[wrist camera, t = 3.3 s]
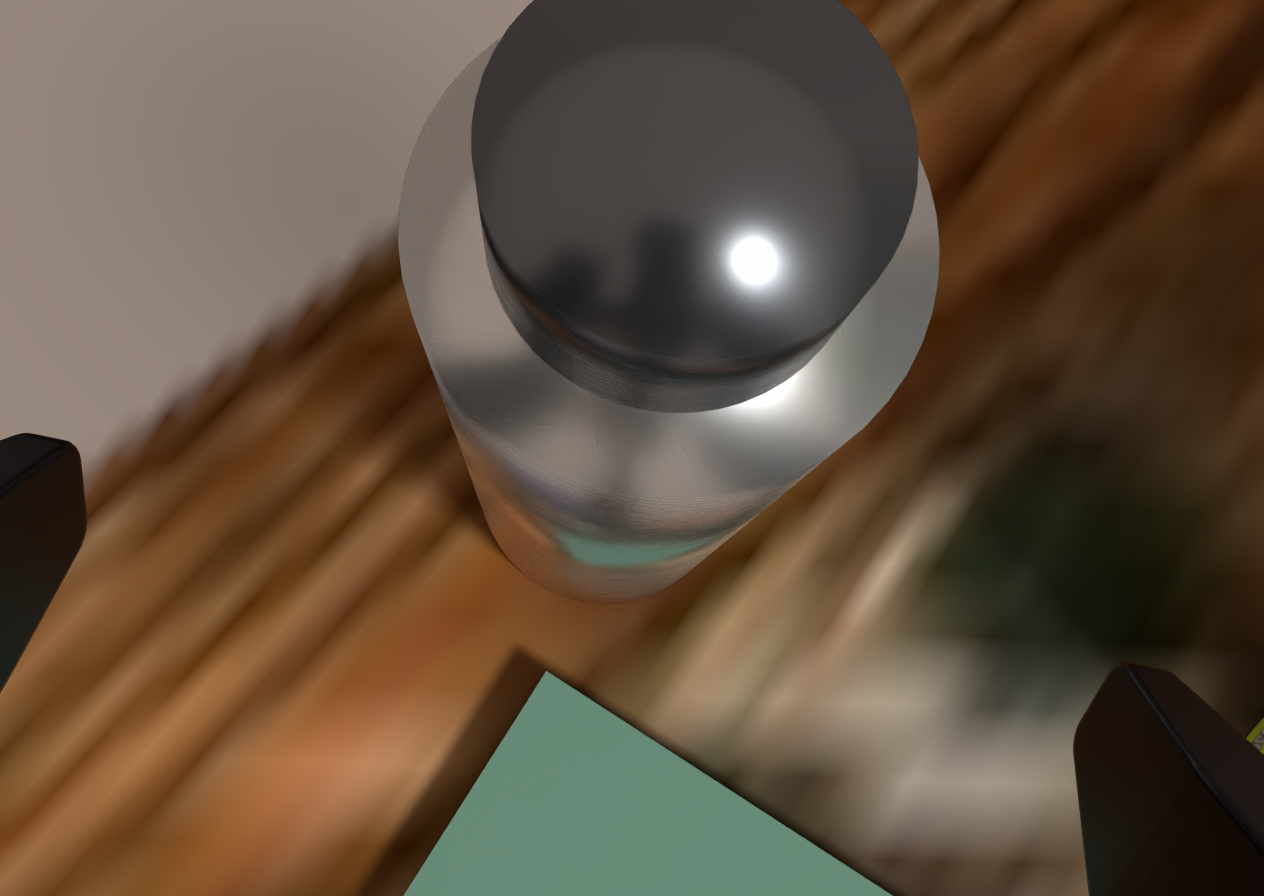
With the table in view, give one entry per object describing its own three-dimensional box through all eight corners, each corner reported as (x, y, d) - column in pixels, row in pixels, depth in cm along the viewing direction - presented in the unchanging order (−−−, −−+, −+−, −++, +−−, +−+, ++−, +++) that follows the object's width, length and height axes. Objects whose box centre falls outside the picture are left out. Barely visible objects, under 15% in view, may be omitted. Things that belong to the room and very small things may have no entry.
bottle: (774, 442, 20) (1118, 70, 8) (644, 653, 19) (814, 590, 7) (568, 312, 20) (599, -238, 8) (429, 514, 19) (231, 223, 7)
